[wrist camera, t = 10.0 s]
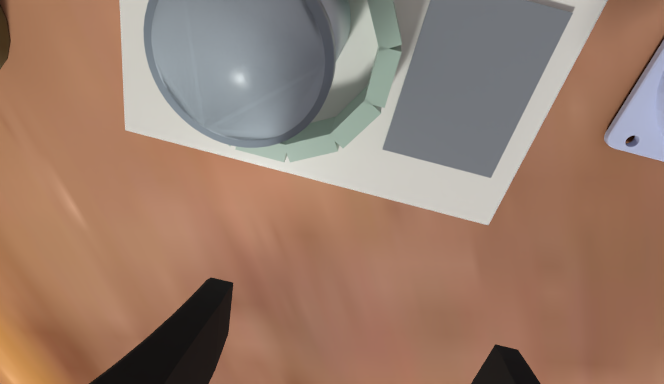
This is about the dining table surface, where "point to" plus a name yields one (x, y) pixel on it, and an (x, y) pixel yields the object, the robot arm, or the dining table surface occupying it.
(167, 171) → the dining table surface
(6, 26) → the cork
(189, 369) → the robot arm
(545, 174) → the dining table surface
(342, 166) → the white base plate
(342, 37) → the tube
